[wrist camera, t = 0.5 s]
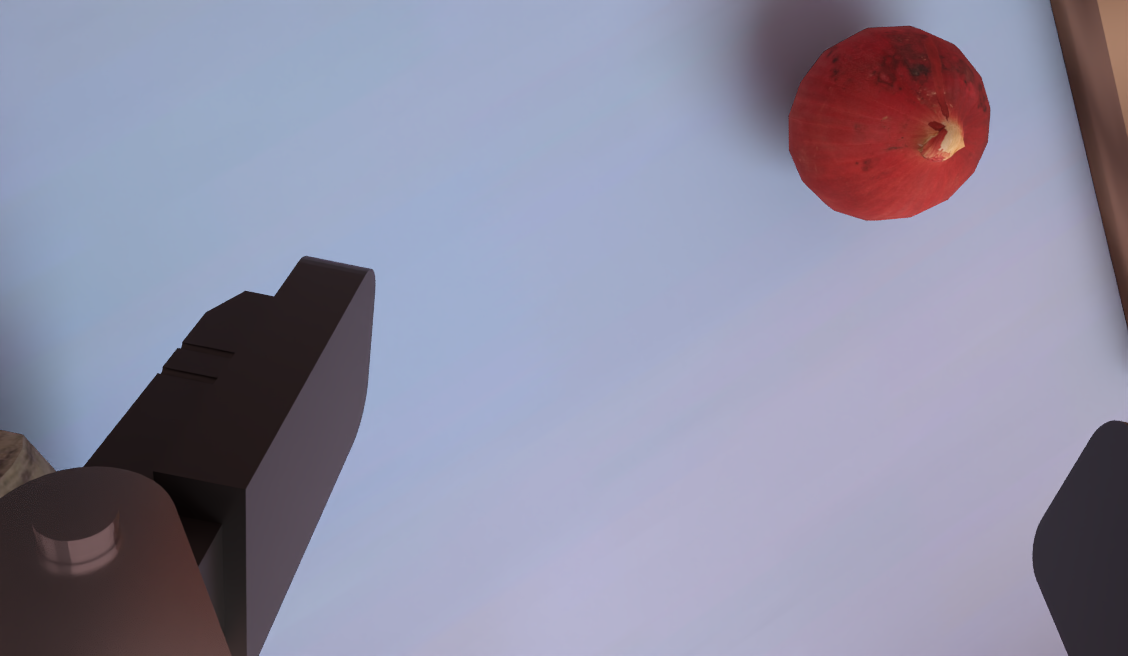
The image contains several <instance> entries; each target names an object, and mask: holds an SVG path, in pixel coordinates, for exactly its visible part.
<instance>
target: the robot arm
mask: <svg viewBox="0 0 1128 656" xmlns="http://www.w3.org/2000/svg"><path fill="white" fill-rule="evenodd" d="M374 299H375V274H374V271H373V270H372V269H369V268H364V267H359V266H354V265H349V264H344V263H339V262H334V261H329V260H324V259H319V258H314V257H309V256H304V257H302V258H301V259H300V260H299V262H298V263H297V265H296V266H295V267H294V269H293V270H292V272H291V273H290V275H289V276H288V277H287V279H286V280H285V282H284V283H283V285H282V286H281V288H280V289H279V290H278V292H277V293H276V295H275V296H269V295H264V294H259V293H254V292H249V291H244V292H243V293H241V294H239V295H237V296H235V297H233V298H232V299H230V300H228V301H226V302H224V303H222V304H220V305H219V306H217V307H215V308H213V309H211V310H209V311H208V312H206V313H205V314H204V315H203V317H202V318H201V319H200V320H199V322H198V323H197V324H196V326H195V327H194V328H193V329H192V331H191V332H190V333H189V334H188V336H187V337H186V338H185V339H184V341H183V342H182V347H181V349H180V348H177V349H176V351H175V352H174V353H173V355H172V356H171V357H170V358H169V360H168V361H167V362H166V363H165V365H164V366H163V369H162V373H161V374H158V373H157V375H156V376H155V377H154V378H153V380H152V381H151V382H150V384H149V385H148V386H147V387H146V389H145V390H144V391H143V392H142V394H141V395H140V396H139V397H138V399H137V400H136V401H135V402H134V404H133V405H132V406H131V407H130V409H129V410H128V411H127V413H126V414H125V415H124V416H123V418H122V419H121V420H120V421H119V423H118V424H117V425H116V426H115V428H114V429H113V430H112V431H111V433H110V434H109V435H108V436H107V438H106V439H105V440H104V442H103V443H102V444H101V445H100V447H99V448H98V449H97V450H96V452H95V453H94V454H93V455H92V457H91V458H90V459H89V460H88V462H87V463H86V464H85V465H84V467H79V468H72V469H66V470H61V471H57V472H54V473H50V474H46V475H43V476H41V477H38V478H36V479H33V480H30V481H28V482H26V483H24V484H22V485H20V486H19V487H17V488H15V489H13V490H12V491H10V492H9V493H7V494H6V495H4V496H3V497H1V498H0V656H259V654H260V651H261V649H262V647H263V645H264V642H265V640H266V638H267V636H268V634H269V631H270V629H271V627H272V625H273V622H274V620H275V618H276V616H277V613H278V611H279V609H280V607H281V604H282V602H283V600H284V598H285V595H286V593H287V591H288V589H289V586H290V584H291V582H292V580H293V577H294V575H295V573H296V571H297V568H298V566H299V564H300V562H301V559H302V557H303V555H304V553H305V550H306V548H307V546H308V544H309V541H310V539H311V537H312V535H313V532H314V530H315V528H316V526H317V523H318V521H319V519H320V517H321V514H322V512H323V510H324V508H325V505H326V503H327V501H328V499H329V496H330V494H331V492H332V490H333V487H334V485H335V483H336V481H337V478H338V476H339V474H340V472H341V470H342V467H343V465H344V463H345V461H346V458H347V456H348V454H349V452H350V449H351V447H352V445H353V443H354V440H355V438H356V435H357V432H358V429H359V426H360V422H361V418H362V414H363V410H364V405H365V400H366V394H367V386H368V375H369V363H370V350H371V337H372V325H373V312H374ZM1033 569H1034V573H1035V577H1036V580H1037V582H1038V585H1039V587H1040V589H1041V592H1042V594H1043V597H1044V599H1045V601H1046V604H1047V606H1048V608H1049V611H1050V613H1051V616H1052V618H1053V620H1054V623H1055V625H1056V627H1057V630H1058V632H1059V634H1060V637H1061V639H1062V642H1063V644H1064V646H1065V649H1066V651H1067V653H1068V656H1128V423H1127V422H1122V421H1115V420H1114V421H1109V422H1107V423H1105V424H1103V425H1102V426H1100V427H1099V428H1098V429H1097V430H1096V431H1095V433H1094V434H1093V435H1092V437H1091V438H1090V440H1089V442H1088V443H1087V445H1086V447H1085V448H1084V450H1083V452H1082V453H1081V455H1080V457H1079V458H1078V460H1077V462H1076V463H1075V465H1074V466H1073V468H1072V470H1071V471H1070V473H1069V475H1068V476H1067V478H1066V480H1065V481H1064V483H1063V485H1062V486H1061V488H1060V490H1059V491H1058V493H1057V495H1056V496H1055V498H1054V499H1053V501H1052V503H1051V504H1050V506H1049V508H1048V509H1047V511H1046V513H1045V514H1044V516H1043V518H1042V519H1041V521H1040V523H1039V526H1038V528H1037V531H1036V534H1035V538H1034V544H1033Z"/></svg>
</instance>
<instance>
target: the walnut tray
mask: <svg viewBox="0 0 1128 656" xmlns="http://www.w3.org/2000/svg"><path fill="white" fill-rule="evenodd" d="M1050 2H1051V6H1052V10H1053V14H1054V19H1055V23H1056V27H1057V31H1058V35H1059V40H1060V44H1061V48H1062V52H1063V57H1064V61H1065V65H1066V69H1067V73H1068V78H1069V82H1070V86H1071V90H1072V94H1073V99H1074V103H1075V107H1076V111H1077V116H1078V120H1079V124H1080V128H1081V132H1082V137H1083V141H1084V145H1085V149H1086V154H1087V158H1088V162H1089V166H1090V170H1091V175H1092V179H1093V183H1094V187H1095V191H1096V196H1097V200H1098V204H1099V208H1100V213H1101V217H1102V221H1103V225H1104V229H1105V234H1106V238H1107V242H1108V246H1109V251H1110V255H1111V259H1112V263H1113V267H1114V272H1115V276H1116V280H1117V284H1118V289H1119V293H1120V297H1121V301H1122V305H1123V310H1124V314H1125V318H1126V322H1127V326H1128V0H1050Z"/></svg>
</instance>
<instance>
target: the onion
mask: <svg viewBox="0 0 1128 656" xmlns="http://www.w3.org/2000/svg"><path fill="white" fill-rule="evenodd" d="M989 121H990V105H989V102H988V98H987V95H986V91H985V88H984V85H983V81H982V78H981V76H980V75H979V73H978V72H977V71H976V70H975V68H974V67H973V66H972V65H971V63H970V62H969V61H968V59H967V58H966V57H965V56H964V54H963V53H962V52H961V51H960V50H959V49H958V48H957V47H956V46H955V45H954V44H952V43H950V42H948V41H945V40H943V39H941V38H939V37H936V36H934V35H932V34H930V33H927V32H925V31H923V30H921V29H918V28H915V27H912V26H895V27H875V28H867V29H864V30H862V31H860V32H858V33H856V34H854V35H853V36H851V37H849V38H847V39H845V40H844V41H842V42H840V43H838V44H836V45H834V46H833V47H831V48H829V49H827V50H826V51H824V52H823V53H822V54H821V56H820V57H819V58H818V60H817V61H816V62H815V64H814V65H813V66H812V68H811V69H810V70H809V72H808V73H807V74H806V76H805V77H804V78H803V80H802V81H801V82H800V85H799V88H798V91H797V94H796V96H795V99H794V102H793V105H792V108H791V111H790V113H789V151H790V154H791V156H792V158H793V161H794V163H795V165H796V168H797V170H798V172H799V175H800V177H801V179H802V181H803V182H804V183H805V184H806V185H807V187H809V188H810V189H811V190H812V191H813V192H814V193H815V194H816V195H817V196H818V197H819V198H820V199H821V200H822V201H823V202H824V203H825V204H826V205H828V206H829V207H830V208H831V209H833V210H834V211H837V212H840V213H844V214H847V215H850V216H853V217H856V218H860V219H863V220H887V219H897V218H908V217H912V216H914V215H916V214H919V213H921V212H923V211H925V210H927V209H929V208H931V207H933V206H935V205H937V204H939V203H942V202H944V201H946V200H948V199H949V198H950V197H951V196H952V195H953V194H954V193H955V192H956V191H957V190H958V188H959V187H960V186H961V185H962V184H963V183H964V182H965V181H966V180H967V179H968V178H969V177H970V176H971V175H972V174H973V173H974V171H975V169H976V167H977V165H978V162H979V160H980V158H981V156H982V154H983V151H984V149H985V147H986V145H987V143H988V134H989Z"/></svg>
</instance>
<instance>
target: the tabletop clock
mask: <svg viewBox="0 0 1128 656" xmlns="http://www.w3.org/2000/svg"><path fill="white" fill-rule="evenodd" d="M54 472H56V471H55V469H54V468H53V467H52V466H51V465H50V464H49V463H48V462H47V461H46V460H45V458H44V457H43V456H42V455H41V454H40V453H39V452H38V451H37V450H36V449H35V447H34V446H33V445H32V444H31V443H30V442H29V441H28V440H27V439H26V438H25V436H24V435H22V434H17V433H12V432H8V431H3V430H0V498H1V497H3V496H4V495H6V494H7V493H9V492H10V491H12V490H13V489H15V488H17V487H19V486H20V485H22V484H24V483H26V482H28V481H30V480H33V479H36V478H38V477H41V476H43V475H46V474H50V473H54Z"/></svg>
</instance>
